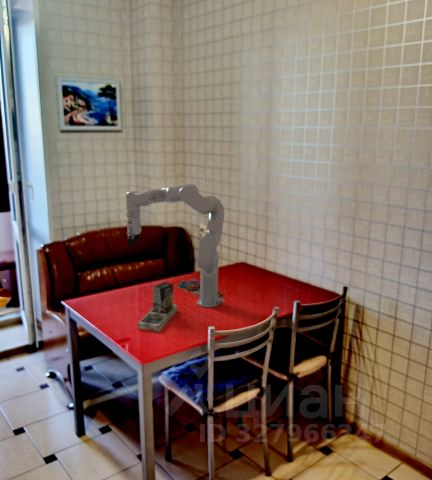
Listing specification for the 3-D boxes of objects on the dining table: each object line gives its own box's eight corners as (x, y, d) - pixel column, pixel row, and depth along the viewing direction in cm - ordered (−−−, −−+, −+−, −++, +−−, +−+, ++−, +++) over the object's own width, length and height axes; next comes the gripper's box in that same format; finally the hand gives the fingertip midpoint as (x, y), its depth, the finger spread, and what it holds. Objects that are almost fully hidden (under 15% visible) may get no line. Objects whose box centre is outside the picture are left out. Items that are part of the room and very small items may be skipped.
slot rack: (177, 310, 245) (177, 305, 244) (159, 331, 219) (159, 325, 218) (158, 308, 247) (158, 302, 246) (137, 328, 222) (137, 322, 221)
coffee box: (161, 318, 234) (161, 288, 230) (152, 315, 237) (152, 285, 234) (173, 313, 241) (173, 284, 237) (164, 310, 245) (164, 281, 241)
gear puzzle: (228, 295, 271) (228, 288, 270) (208, 301, 260) (209, 294, 259) (194, 281, 292) (194, 275, 291) (174, 287, 281) (174, 281, 280)
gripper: (134, 217, 245) (135, 248, 249) (145, 211, 261) (145, 240, 265) (121, 216, 246) (122, 247, 250) (132, 210, 262) (133, 239, 267)
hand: (134, 243), depth 258 cm, fingers open, 9 cm apart
